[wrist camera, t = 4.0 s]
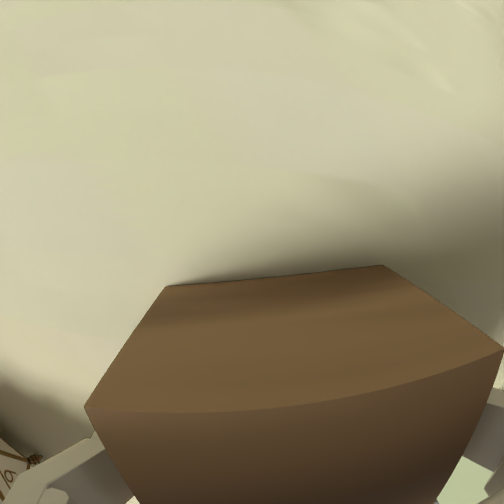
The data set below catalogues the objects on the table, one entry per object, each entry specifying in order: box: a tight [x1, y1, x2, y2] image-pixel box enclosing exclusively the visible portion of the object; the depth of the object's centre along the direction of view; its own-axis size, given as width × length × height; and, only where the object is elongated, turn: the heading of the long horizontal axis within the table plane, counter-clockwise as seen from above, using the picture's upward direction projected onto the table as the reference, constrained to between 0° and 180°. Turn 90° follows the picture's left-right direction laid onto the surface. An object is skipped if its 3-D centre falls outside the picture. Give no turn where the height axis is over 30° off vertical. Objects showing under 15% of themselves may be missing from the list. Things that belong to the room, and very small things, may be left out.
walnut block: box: [84, 265, 504, 504], centre depth 6 cm, size 6×6×5 cm
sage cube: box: [437, 456, 494, 504], centre depth 8 cm, size 5×5×5 cm
